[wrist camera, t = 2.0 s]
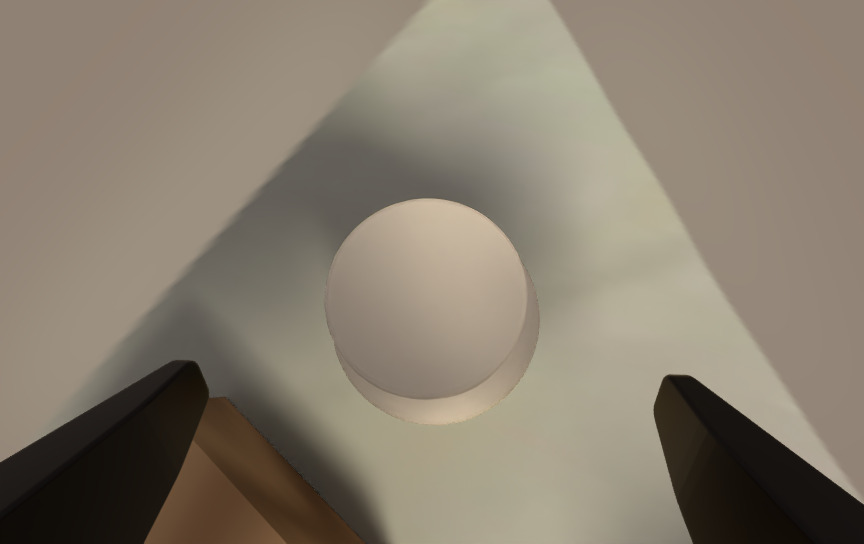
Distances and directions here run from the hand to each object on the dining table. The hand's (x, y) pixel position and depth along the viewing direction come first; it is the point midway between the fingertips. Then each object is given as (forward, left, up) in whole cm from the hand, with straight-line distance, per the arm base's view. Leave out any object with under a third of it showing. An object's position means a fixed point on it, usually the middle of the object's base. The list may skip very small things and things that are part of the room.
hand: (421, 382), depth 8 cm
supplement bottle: (+1, -1, -9) cm, 10 cm away
